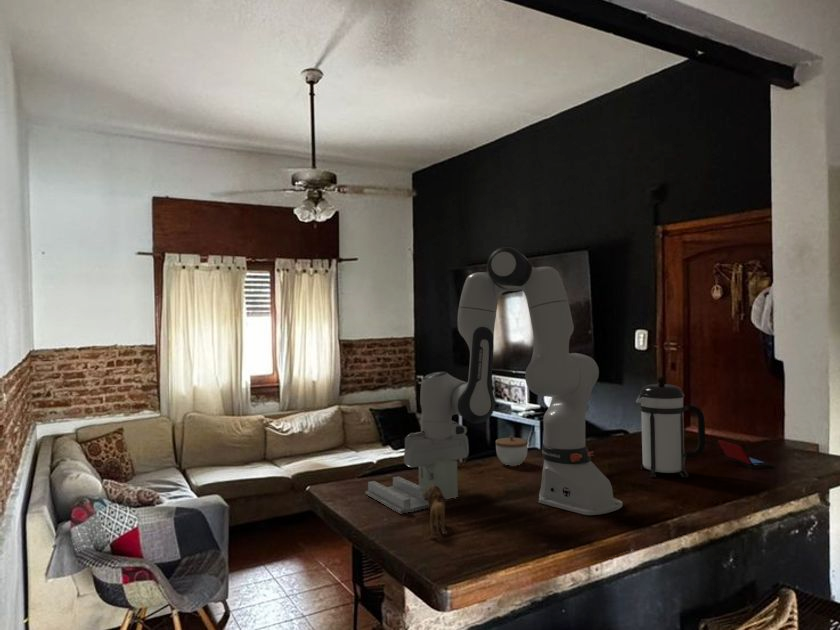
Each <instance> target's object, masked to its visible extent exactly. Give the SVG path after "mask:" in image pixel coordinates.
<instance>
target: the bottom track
mask: <svg viewBox="0 0 840 630" xmlns="http://www.w3.org/2000/svg"><path fill="white" fill-rule="evenodd" d="M367 487H368V488H367V490H366V491H364V494H367V495H368V496H370V497H372V498H374V499H375V500H377V501H379V502H381V503H382V504H384V505H386V506H387V507H389V508H391V509H392V511H393V510H394V511H393V512H395V511H396V512H398V513H400V514H402V515H404V514H403V513H406V514H409V513H408V512H411V513H414V511H415V512H418V510H419V511H422V510H421V509H424V510H426V509H425V508H428V509H430V508H429V503H428V501H425V499H424V498H423V496H422V494H423V493H425V492H426V491H427V490H428V489H426V488H423V487H421V486H419V484H416V483H414V482H412V481H409V480H407V479H405V478H404V477H401V476H394V477H392V485H391V486H385V485H384V484H381V483H379V482H377V481H376V480H373V481H368V482H367ZM368 496H367V497H368ZM375 500H374V501H375ZM377 501H376V502H377ZM382 504H381V505H382ZM384 505H383V506H384ZM386 506H385V507H386ZM387 507H386V508H387ZM389 508H388V509H389ZM391 509H390V510H391ZM396 512H395V513H396ZM398 513H397V514H398ZM400 514H399V515H400Z"/></svg>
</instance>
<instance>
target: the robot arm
mask: <svg viewBox="0 0 840 630" xmlns="http://www.w3.org/2000/svg"><path fill="white" fill-rule="evenodd" d="M486 264H487V265H486V268H487V270H486V271H484V272H483V271H481V272H479V271H478V272H473V273H471V274H469V275H468V276H466V279H465V281H464V284H463V286H462V290H461V295H460V299H459V305H458V310H457V331H458V332H459V334H460V336H461V337H462V338H463V339H464V341H465V342H466V344H467V346H468V349H469V364H468V365H469V367H468V378H467V379H468V380H467V381H464V380H461V379H460V378H459V379H458V378H457V377H454V376H453V375H451V374H449V373H448V372H446V371H436V372H431V373H429V374H426V375H425V376H424V377H423V378H422V380H421V384H420V395H419V396H420V400H419V403H420V408H421V415H420V431H416V432H410V433H409V434H408V435H407V436H406V437H405V438H404V454H403V462H404V465H405V466H407V467H409V468H418V467H419V466H422V469H423V470H424V472H425V475H426V480H432V479H433V473H430V471H429V469H428V468H430V464H434V463H435V460H437V459H442V458H448V459H451V460H454V461H457V460H462V459H463V460H464V459H467V457H468V456H469V453H470V450H469V448H470V447H469V437H468V435H466V434H467V433H468V428H467V427H466V426H465V425H462V424H459V423H456V422H452V417H453V416H455V415H458V416H460V417H462V418H463V419H464V420H466V421H467V422H468V423H471V424H482V423H483V422H486V421H487V420H489V418H491V416H492V415H493V413H494V411H495V407H496V399H495V396H494V393H493V386H492V378H493V366H494V365H493V364H494V349H495V348H494V345H495V344H494V340H495V337H494V336H495V327H496V318H497V310H498V304H499V299H500V297H501V295H503V296H505V295H510V294H514V293H516V294H517V293H519V292H523V293H524V295H525V298H526V303H527V307H528V312H529V318H530V323H531V324H530V325H531V329H532V335H533V347H532V349H533V350H532V355H531V360H530V362H529V364H528V366H527V367H526V370H525V372H524V373H525V375H524V379H525V380H524V381H525V383H526V386H527V388H528V389H529V391H530V392H531V393H533V394H535V395H537V396H542V397H548V398H551V401H550V404H549V407H548V409H547V410H546V411H545V413H544V415H543V443H542V445H541V446H542V449H541V452H542V453H541V454H542V455H541V457H542V458H543V467H542V474H541V485H540V490H539V494H538V503H540V504H542V505H546V506H550V507H553V508H554V507H555V508H558V509H562V510H564V511H565V510H566V511H569V512H573V513H576V514H580V515H584V516H596V515H597V516H598V515H604V514H608V513H611V512H615V511H617V510H619V509H622V507H623V506H624V505H623V504H624V503H623V501H622V500H620V499H618V498H616V497H614V493H613V486H612V484H611V481H610V480H609V478H607V477H606V475H605V474H603V472H602V471H601V470H600V469H599V468H598V467H597V466H596V465H595V464H594V463H593V462H592V461H591V460H592V458H591V457H592V456H594V454H593V453H594V451H593V450H591V451H589V449H588V446H587V445H586V417H587V409H588V405H589V402H590V401H589V400H590V396H591V393H592V390H593V388H594V386H595V384H596V383H597V382H598V379H599V375H600V369H599V366H598V364H597V362H596V360H594V359H593V358H592V357H591V356H589V355H585V354H582V353H577V352H571V353H570V349H569V348H570V339H571V336H572V335H573V333H574V329H575V327H574V326H575V325H574V321H573V317H572V311H571V308H570V303H569V299H568V295H567V292H566V288H565V286H564V282H563V279H562V277H561V276H560V273H559V271H558V270H557V269H555V268H554V267H551V266H538V267H535V266H533V265H532V263H531V262H530V261H529V260H528V259H527V257H526V256H525V255H524V254H523V253H521V251H520V250H517V248H514V247H509V246H505V247H499V248H497V249H496V250H494V251H493V252H492V253H491V254H490V256H489V257H488V259H487V263H486Z"/></svg>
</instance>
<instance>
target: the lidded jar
mask: <svg viewBox="0 0 840 630" xmlns="http://www.w3.org/2000/svg"><path fill="white" fill-rule="evenodd" d="M528 445H529V443H528V440H527V439H525V438H520V437H514V436H513V435H509V437H501V438H498V439H496V440H495V450H496V456H497V458H498V459H499V461H500V462H501V463H502V464H503V465H504V464H505V465H504V466H506V465H510V466H509V467H517V465H519V466H521V465H522V463H523V462H524V461H525V460H526V458H527V455H528ZM520 464H521V465H520Z"/></svg>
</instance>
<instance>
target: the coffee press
mask: <svg viewBox="0 0 840 630" xmlns="http://www.w3.org/2000/svg"><path fill="white" fill-rule="evenodd" d="M657 382H658V383H655V384H654V383H651V384H647V385H645V386H643V387H642V388H641V391H640V392H639V395H638V396H637V398H636V400H635V403H637V404H640V405H639V406H640V407H639V408H640V411H641V446H642V448H641V450H642V451H641V453H642V457H641V458H642V463H640V465H639V469H640V470H642V468H644V470H645V469H647V470H649V478H652V477H654V476H655V478H656V477H657V474H659V473H664V474H665V473H666V474H674V473H677V474H678V475H680V476H681V477H682V478H683V477H684V476H685V478H688V477H689V473H688V472H687V470H686V468H685V460H686V458H687V459H688V458H696V457H698V456H700V455H702V453H703V452H704V450H705V446H706V426H705V415H704V414H703V412H702V410H701V409H700V408H698V407H696V406H694V405H690V404H687V405H684V397H685V393H683V390H682V388H680V386H677V385H673V384H667V383H666V384H665V382H666V378H665V377H664V376H659V377H658V378H657ZM685 411H688V412H692V413H694V414H695V416H696V418H697V434H698V435H697V437H698V438H697V441H698V442H697V447H696V448H695V450H692V451H685V437H684V436H685V429H684V426H685V425H684V413H685ZM682 471H683V473H682ZM684 474H685V475H684ZM685 478H684V479H685Z"/></svg>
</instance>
